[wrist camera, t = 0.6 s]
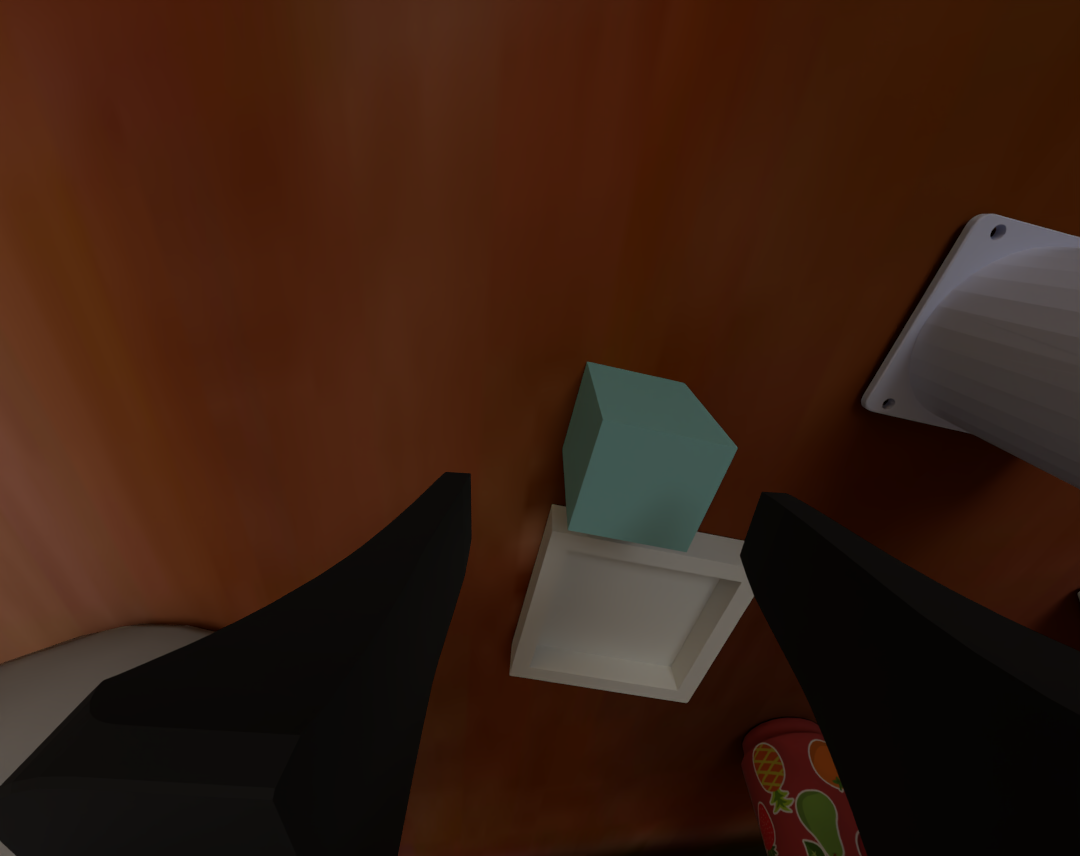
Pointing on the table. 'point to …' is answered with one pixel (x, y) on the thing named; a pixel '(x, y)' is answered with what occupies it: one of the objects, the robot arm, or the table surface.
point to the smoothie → (798, 791)
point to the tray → (628, 612)
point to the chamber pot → (71, 682)
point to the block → (641, 459)
